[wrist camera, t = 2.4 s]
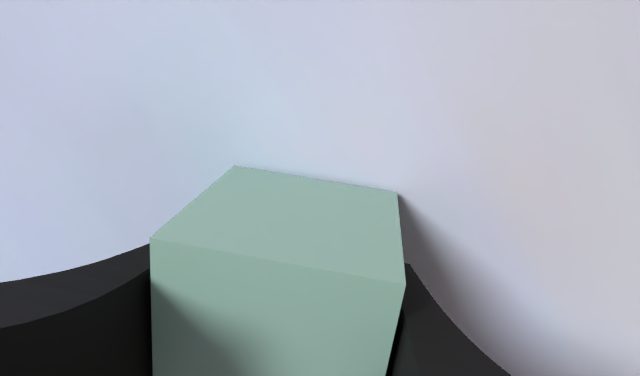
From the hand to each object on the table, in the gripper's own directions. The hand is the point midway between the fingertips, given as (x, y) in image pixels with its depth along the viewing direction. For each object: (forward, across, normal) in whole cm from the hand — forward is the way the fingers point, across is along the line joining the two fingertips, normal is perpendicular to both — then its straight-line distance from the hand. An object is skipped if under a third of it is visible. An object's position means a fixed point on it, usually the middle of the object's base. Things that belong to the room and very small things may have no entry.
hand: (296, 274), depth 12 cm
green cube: (+1, 0, 0) cm, 1 cm away
